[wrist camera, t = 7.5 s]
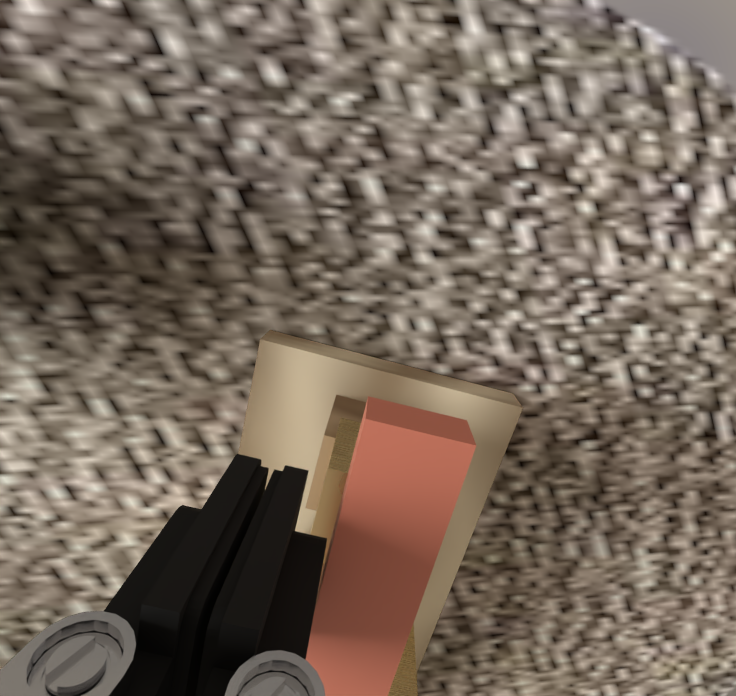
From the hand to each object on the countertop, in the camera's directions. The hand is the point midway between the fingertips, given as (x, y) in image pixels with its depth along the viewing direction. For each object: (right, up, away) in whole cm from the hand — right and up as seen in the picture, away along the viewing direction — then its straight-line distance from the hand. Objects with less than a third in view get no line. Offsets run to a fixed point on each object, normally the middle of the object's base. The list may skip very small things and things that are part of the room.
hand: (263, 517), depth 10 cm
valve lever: (+2, -4, +1) cm, 5 cm away
